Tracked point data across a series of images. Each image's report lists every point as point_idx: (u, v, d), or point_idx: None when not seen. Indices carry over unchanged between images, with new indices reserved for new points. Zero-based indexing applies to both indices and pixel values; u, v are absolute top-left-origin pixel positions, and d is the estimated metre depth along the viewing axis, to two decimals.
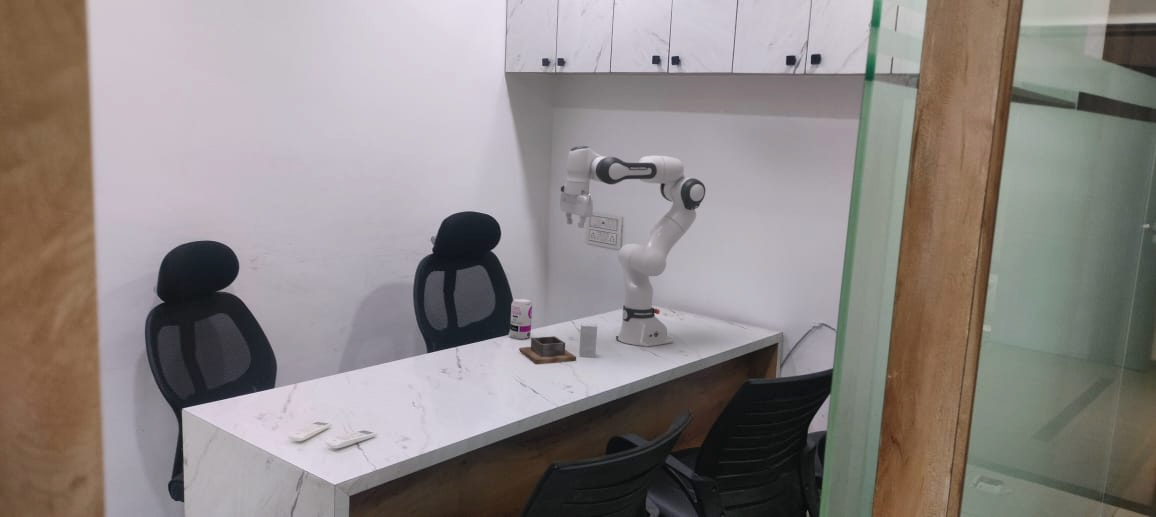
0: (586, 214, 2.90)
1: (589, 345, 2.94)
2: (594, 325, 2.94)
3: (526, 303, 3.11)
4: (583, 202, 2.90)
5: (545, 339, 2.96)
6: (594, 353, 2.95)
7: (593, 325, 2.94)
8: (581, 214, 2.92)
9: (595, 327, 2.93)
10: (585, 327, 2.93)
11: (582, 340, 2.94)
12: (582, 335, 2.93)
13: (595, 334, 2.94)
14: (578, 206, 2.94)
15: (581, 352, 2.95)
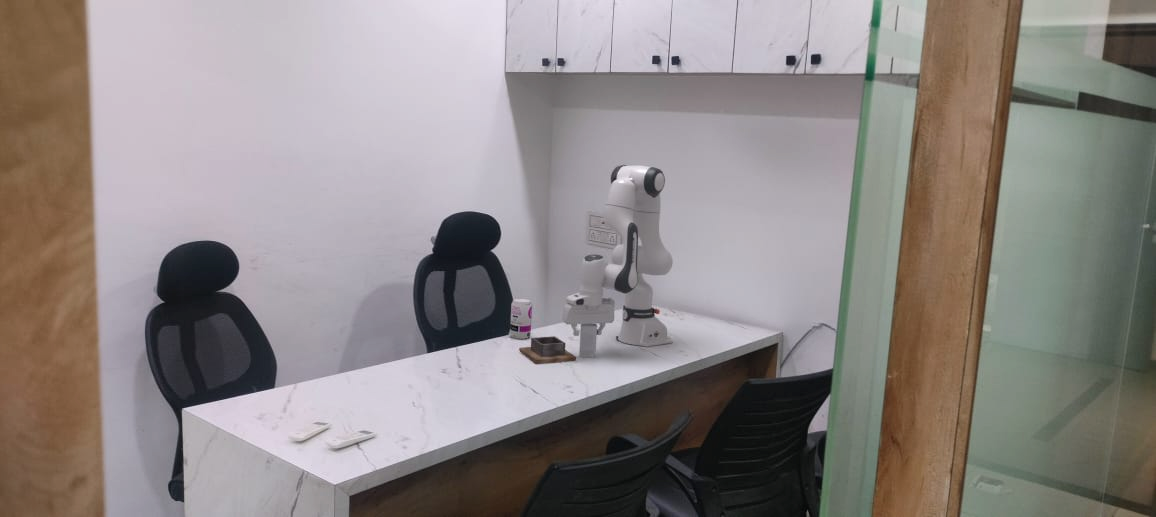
0: None
1: (589, 345, 2.94)
2: (594, 325, 2.94)
3: (526, 303, 3.11)
4: (612, 309, 2.96)
5: (545, 339, 2.96)
6: (594, 353, 2.95)
7: (593, 325, 2.94)
8: (609, 321, 2.96)
9: (595, 327, 2.93)
10: (585, 327, 2.93)
11: (582, 340, 2.94)
12: (582, 335, 2.93)
13: (595, 334, 2.94)
14: (603, 314, 2.95)
15: (581, 352, 2.95)
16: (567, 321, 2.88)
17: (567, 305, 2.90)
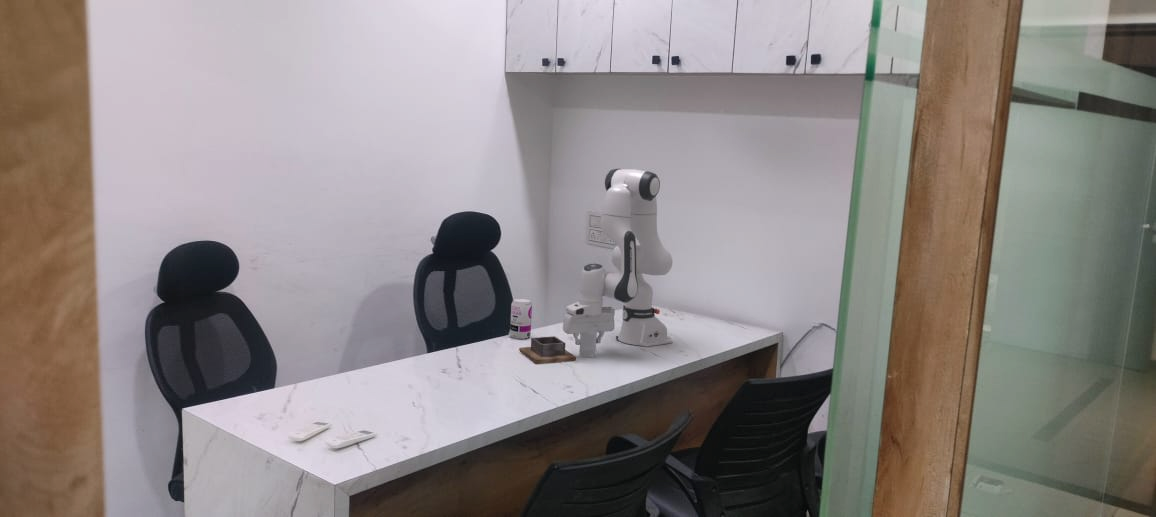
0: None
1: (589, 345, 2.94)
2: None
3: (526, 303, 3.11)
4: (612, 317, 2.97)
5: (545, 339, 2.96)
6: (594, 353, 2.95)
7: None
8: (609, 329, 2.97)
9: (595, 327, 2.93)
10: None
11: (582, 340, 2.94)
12: (582, 335, 2.93)
13: (595, 334, 2.94)
14: (603, 323, 2.96)
15: (581, 352, 2.95)
16: (567, 331, 2.89)
17: (567, 315, 2.91)
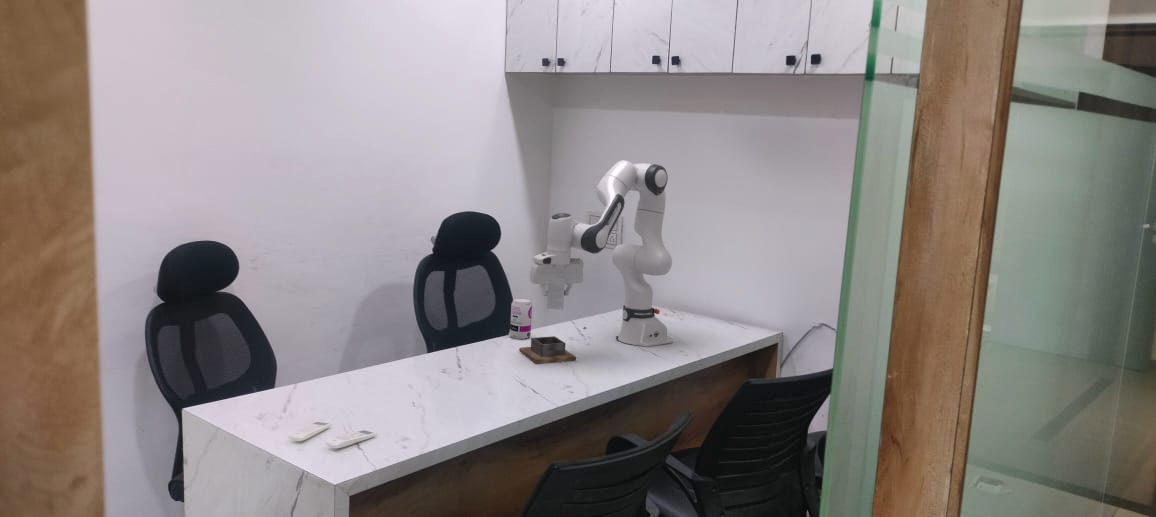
0: None
1: (557, 297, 2.87)
2: None
3: (526, 303, 3.11)
4: (580, 269, 2.90)
5: (545, 339, 2.96)
6: (562, 305, 2.88)
7: None
8: (577, 281, 2.90)
9: (563, 278, 2.86)
10: None
11: (549, 292, 2.87)
12: (550, 286, 2.87)
13: (563, 285, 2.87)
14: (571, 274, 2.89)
15: (548, 304, 2.88)
16: (534, 280, 2.83)
17: (534, 264, 2.84)
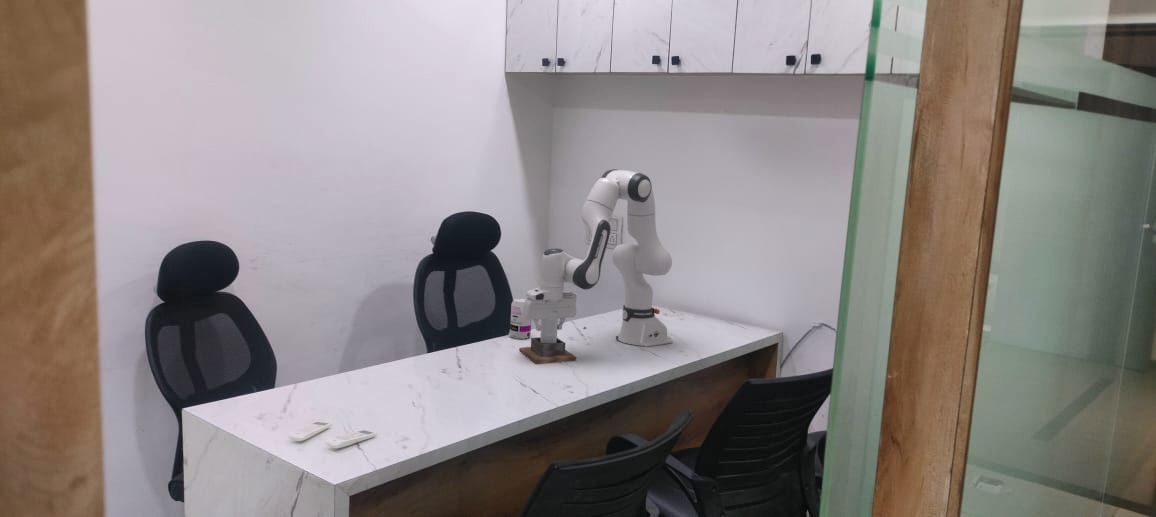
0: None
1: (550, 332, 2.89)
2: None
3: None
4: (573, 303, 2.92)
5: None
6: (555, 340, 2.90)
7: None
8: (570, 315, 2.92)
9: (556, 313, 2.88)
10: None
11: (542, 326, 2.89)
12: (543, 321, 2.88)
13: (556, 320, 2.89)
14: (564, 309, 2.91)
15: (542, 338, 2.89)
16: (527, 316, 2.84)
17: (527, 300, 2.86)
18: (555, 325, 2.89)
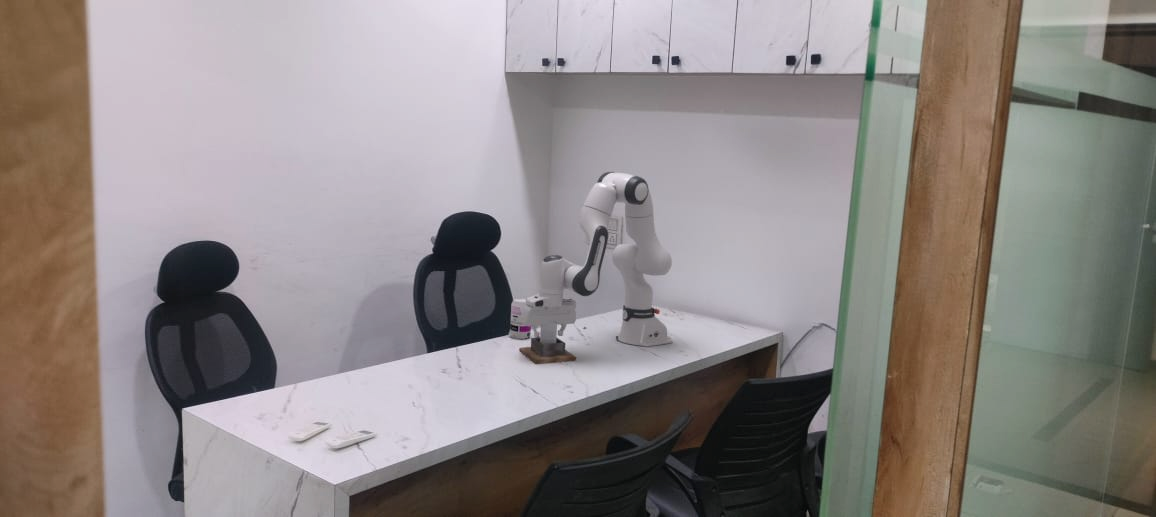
0: None
1: (549, 342, 2.90)
2: None
3: (526, 303, 3.11)
4: (573, 309, 2.92)
5: None
6: None
7: None
8: (570, 322, 2.93)
9: (555, 323, 2.89)
10: None
11: (542, 337, 2.89)
12: (542, 331, 2.89)
13: (555, 330, 2.89)
14: (564, 315, 2.91)
15: None
16: (527, 323, 2.85)
17: (527, 307, 2.86)
18: (554, 335, 2.90)
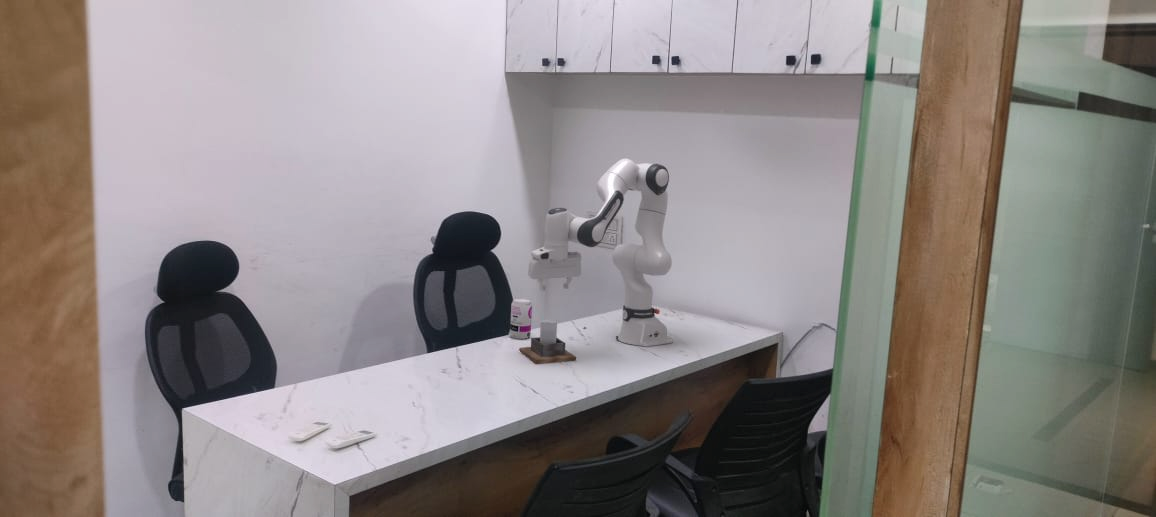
0: None
1: (549, 342, 2.90)
2: (554, 321, 2.90)
3: (526, 303, 3.11)
4: (578, 262, 2.93)
5: None
6: None
7: (553, 321, 2.90)
8: (576, 275, 2.93)
9: (555, 323, 2.89)
10: (545, 323, 2.89)
11: (542, 337, 2.89)
12: (542, 331, 2.89)
13: (555, 330, 2.89)
14: (569, 268, 2.91)
15: None
16: (532, 276, 2.85)
17: (532, 260, 2.87)
18: (554, 335, 2.90)
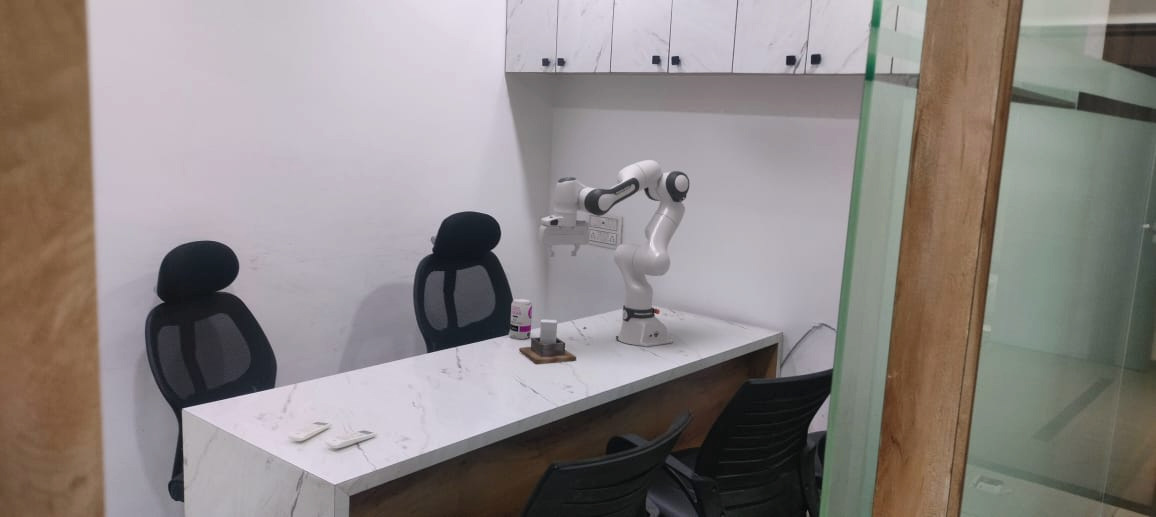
0: None
1: (549, 342, 2.90)
2: (554, 321, 2.90)
3: (526, 303, 3.11)
4: (586, 230, 3.03)
5: None
6: None
7: (553, 321, 2.90)
8: (583, 242, 3.04)
9: (555, 323, 2.89)
10: (545, 323, 2.89)
11: (542, 337, 2.89)
12: (542, 331, 2.89)
13: (555, 330, 2.89)
14: (577, 236, 3.02)
15: None
16: (542, 241, 2.96)
17: (542, 226, 2.98)
18: (554, 335, 2.90)
